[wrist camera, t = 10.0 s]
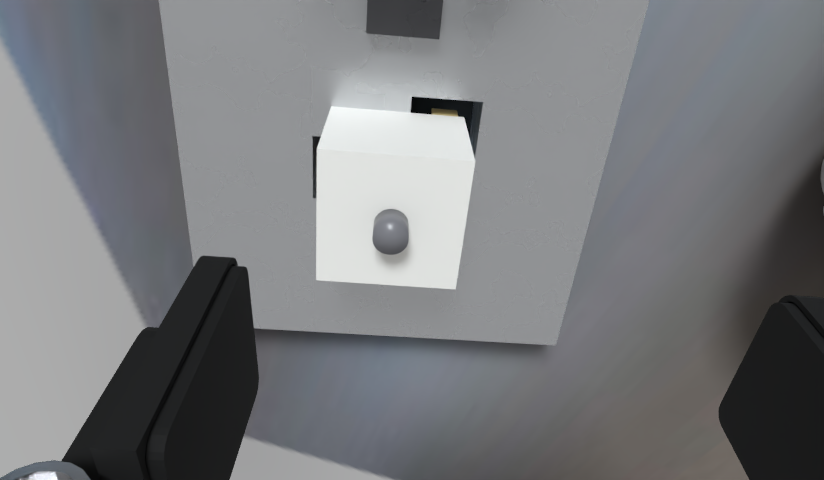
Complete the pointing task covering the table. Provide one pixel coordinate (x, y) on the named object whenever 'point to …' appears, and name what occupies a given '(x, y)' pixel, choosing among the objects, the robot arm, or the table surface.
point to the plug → (392, 197)
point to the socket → (392, 91)
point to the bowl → (822, 178)
